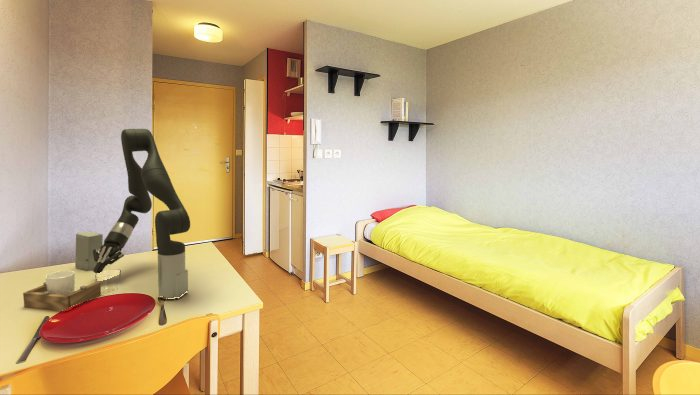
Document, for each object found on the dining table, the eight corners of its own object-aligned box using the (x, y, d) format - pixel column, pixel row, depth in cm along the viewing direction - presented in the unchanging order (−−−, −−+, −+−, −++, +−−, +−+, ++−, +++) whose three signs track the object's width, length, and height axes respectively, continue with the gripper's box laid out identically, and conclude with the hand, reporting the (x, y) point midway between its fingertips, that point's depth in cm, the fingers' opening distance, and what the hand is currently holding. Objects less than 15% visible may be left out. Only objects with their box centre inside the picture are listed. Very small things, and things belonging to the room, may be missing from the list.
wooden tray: (101, 294, 127) (100, 280, 126) (66, 311, 113) (65, 295, 113) (62, 290, 129) (61, 276, 128) (24, 306, 115) (22, 290, 114)
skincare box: (74, 268, 151) (72, 233, 149) (91, 263, 157) (89, 230, 155) (88, 271, 148) (86, 236, 146) (104, 266, 155) (103, 232, 153)
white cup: (43, 302, 119) (40, 275, 117) (69, 294, 126) (68, 268, 124) (53, 308, 115) (51, 280, 114) (80, 299, 122) (79, 273, 121)
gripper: (99, 229, 142) (74, 267, 131) (128, 231, 140) (105, 270, 130) (110, 238, 148) (87, 275, 137) (138, 240, 146) (117, 278, 136)
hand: (96, 272), depth 134 cm, fingers closed
